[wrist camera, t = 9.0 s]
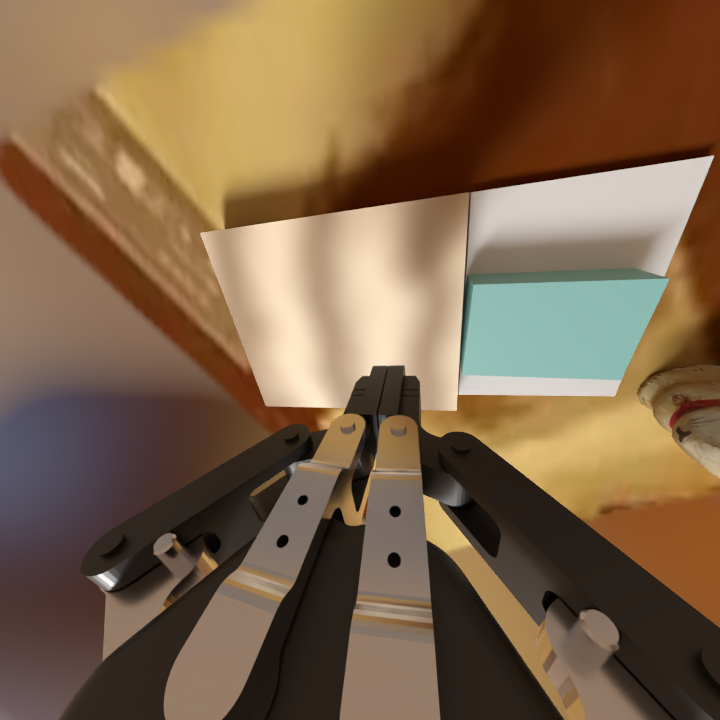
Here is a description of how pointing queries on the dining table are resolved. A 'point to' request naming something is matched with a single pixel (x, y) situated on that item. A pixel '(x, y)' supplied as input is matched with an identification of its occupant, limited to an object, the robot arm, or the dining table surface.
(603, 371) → the teal rectangular block
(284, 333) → the cream flat block
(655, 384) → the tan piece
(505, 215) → the mat
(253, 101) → the dining table surface
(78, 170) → the dining table surface
